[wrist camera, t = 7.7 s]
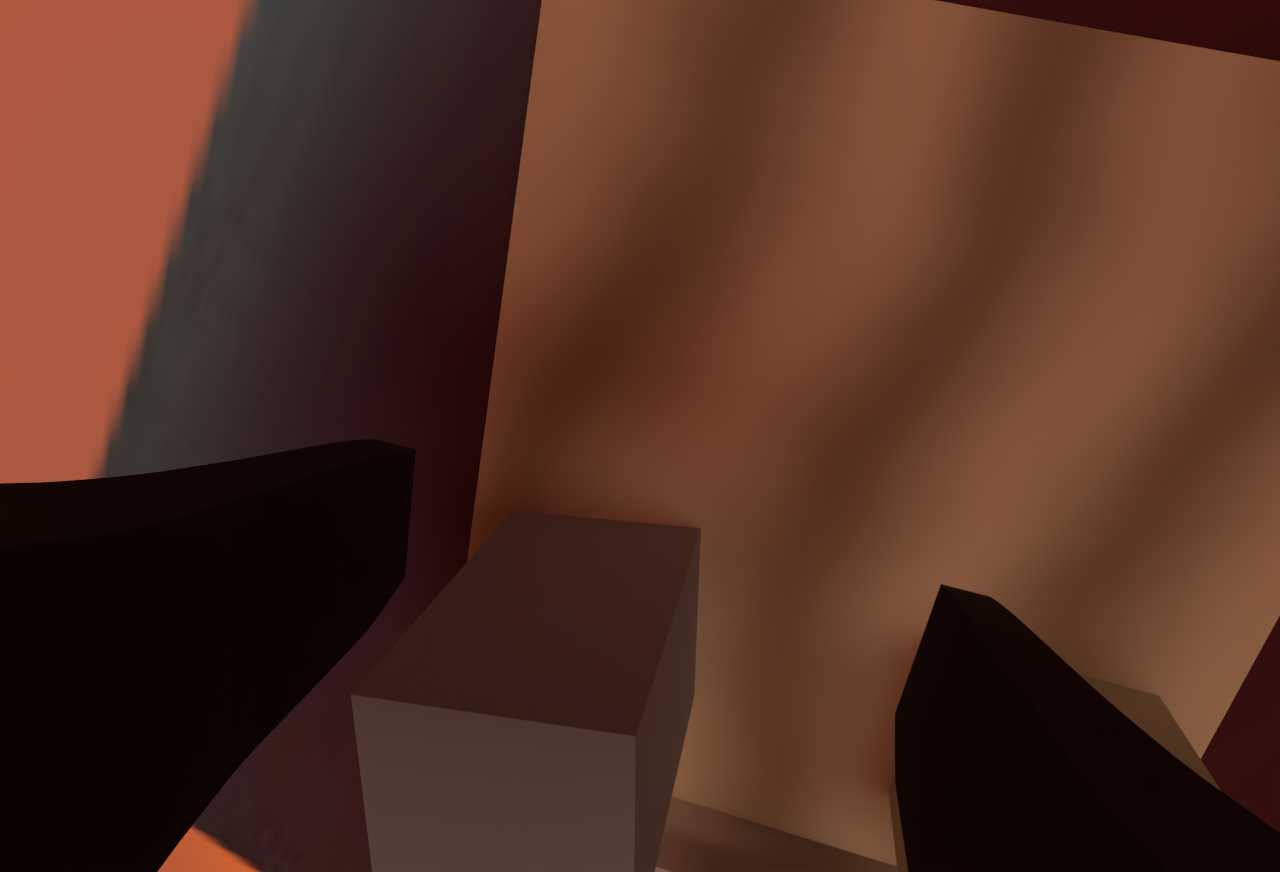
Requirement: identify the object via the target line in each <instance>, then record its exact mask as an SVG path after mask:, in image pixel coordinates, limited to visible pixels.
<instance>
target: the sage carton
mask: <svg viewBox="0 0 1280 872" xmlns="http://www.w3.org/2000/svg"><path fill="white" fill-rule="evenodd" d="M1079 675H1080V676H1081V677H1082V678H1084V679H1085V680H1086V681H1087V682H1088V683H1089V684H1090V685H1091V686H1092V687H1093V688H1095V689H1096V690H1097V691H1098V692H1099V693H1100V694H1101V695H1102V696H1104V697H1105V698H1106V699H1107V700H1108V701H1109V702H1110V703H1112V704H1113V705H1114V706H1115V707H1116V708H1117V709H1118V710H1120V711H1121V712H1122V713H1123V714H1124V715H1125V716H1127V717H1128V718H1129V719H1130V720H1131V721H1133V722H1134V723H1135V724H1136V725H1137V726H1139V727H1140V728H1141V729H1142V730H1143V731H1145V732H1146V733H1147V734H1148V735H1149V736H1151V737H1152V738H1153V739H1154V740H1156V741H1157V742H1158V743H1159V744H1160V745H1162V746H1163V747H1164V748H1165V749H1166V750H1168V751H1169V752H1170V753H1171V754H1173V755H1174V756H1175V757H1176V758H1178V759H1179V760H1180V761H1181V762H1183V763H1184V764H1185V765H1187V766H1188V767H1189V768H1191V769H1192V770H1193V771H1194V772H1196V773H1197V774H1198V775H1200V776H1201V777H1202V778H1204V779H1205V780H1206V781H1208V782H1209V783H1210V784H1212V785H1213V786H1215V787H1216V788H1217V789H1219V787H1218V785H1217V784H1216V782H1215V781H1214V779H1213V778H1212V776H1211V775H1210V773H1209V772H1208V770H1207V769H1206V767H1205V765H1204V764H1203V762H1202V761H1201V759H1200V758H1199V756H1198V755H1197V753H1196V752H1195V750H1194V748H1193V747H1192V745H1191V744H1190V742H1189V741H1188V739H1187V738H1186V736H1185V735H1184V733H1183V731H1182V730H1181V728H1180V727H1179V725H1178V724H1177V722H1176V721H1175V719H1174V718H1173V716H1172V715H1171V713H1170V711H1169V710H1168V708H1167V707H1166V705H1165V704H1164V702H1163V701H1162V699H1161V698H1160V696H1158V695H1155V694H1151V693H1147V692H1144V691H1140V690H1136V689H1133V688H1129V687H1125V686H1122V685H1118V684H1114V683H1111V682H1107V681H1103V680H1100V679H1096V678H1093V677H1089V676H1085V675H1082V674H1079ZM1219 790H1220V789H1219ZM1220 791H1221V790H1220ZM888 794H889V802H890V811H891V819H892V828H893V837H894V845H895V854H896V862H897V871H898V872H908V866H907V860H906V853H905V847H904V840H903V834H902V827H901V820H900V813H899V807H898V800H897V792H896V785H895V777H894V780H893V782H892V785H891V788H890V790H889V793H888Z"/></svg>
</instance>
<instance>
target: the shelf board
mask: <svg viewBox="0 0 1280 872" xmlns="http://www.w3.org/2000/svg"><path fill="white" fill-rule="evenodd" d="M512 510H514V511H524V512H534V513H545V514H555V515H566V516H576V517H586V518H597V519H607V520H617V521H628V522H638V523H649V524H659V525H669V526H680V527H690V528H700V529H701V538H700V564H699V590H698V616H697V641H696V667H695V693H694V700H693V705H692V709H691V713H690V718H689V722H688V727H687V731H686V735H685V740H684V744H683V749H682V753H681V758H680V762H679V766H678V771H677V775H676V780H675V784H674V788H673V793H672V797H671V802H670V806H669V810H668V815H667V819H666V824H665V828H664V833H663V837H662V841H661V846H660V850H659V855H658V859H657V863H656V868H655V872H898V871H897V862H896V854H895V845H894V837H893V828H892V819H891V811H890V802H889V794H888V793H889V790H890V788H891V785H892V782H893V780H894V777H895V712H896V709H897V707H898V704H899V701H900V698H901V695H902V692H903V690H904V687H905V684H906V681H907V678H908V676H909V673H910V670H911V667H912V664H913V661H914V659H915V656H916V653H917V650H918V647H919V645H920V642H921V639H922V636H923V633H924V630H925V628H926V625H927V622H928V619H929V616H930V614H931V611H932V608H933V605H934V602H935V599H936V597H937V594H938V591H939V588H940V585H941V584H943V585H947V586H951V587H954V588H958V589H962V590H966V591H970V592H974V593H978V594H982V595H986V596H990V597H992V598H993V599H995V600H996V601H997V602H999V603H1000V604H1001V605H1003V606H1004V607H1005V608H1006V609H1008V610H1009V611H1010V612H1011V613H1012V614H1014V615H1015V616H1016V617H1017V618H1018V619H1019V620H1020V621H1021V622H1023V623H1024V624H1025V625H1026V626H1027V627H1028V628H1029V629H1030V630H1031V631H1033V632H1034V633H1035V634H1036V635H1037V636H1038V637H1039V638H1040V639H1041V640H1042V641H1043V642H1044V643H1046V644H1047V645H1048V646H1049V647H1050V648H1051V649H1052V650H1053V651H1054V652H1055V653H1056V654H1057V655H1058V656H1060V657H1061V658H1062V659H1063V660H1064V661H1065V662H1066V663H1067V664H1068V665H1069V666H1070V667H1071V668H1073V669H1074V670H1075V671H1076V672H1077V673H1078V674H1082V675H1085V676H1089V677H1093V678H1096V679H1100V680H1103V681H1107V682H1111V683H1114V684H1118V685H1122V686H1125V687H1129V688H1133V689H1136V690H1140V691H1144V692H1147V693H1151V694H1155V695H1158V696H1160V698H1161V699H1162V701H1163V702H1164V704H1165V705H1166V707H1167V708H1168V710H1169V711H1170V713H1171V715H1172V716H1173V718H1174V719H1175V721H1176V722H1177V724H1178V725H1179V727H1180V728H1181V730H1182V731H1183V733H1184V735H1185V736H1186V738H1187V739H1188V741H1189V742H1190V744H1191V745H1192V747H1193V748H1194V750H1195V752H1196V753H1197V755H1198V756H1199V758H1200V759H1201V757H1202V755H1203V754H1204V752H1205V750H1206V748H1207V746H1208V745H1209V743H1210V741H1211V739H1212V737H1213V735H1214V734H1215V732H1216V730H1217V728H1218V726H1219V725H1220V723H1221V721H1222V719H1223V717H1224V715H1225V714H1226V712H1227V710H1228V708H1229V706H1230V705H1231V703H1232V701H1233V699H1234V697H1235V695H1236V694H1237V692H1238V690H1239V688H1240V686H1241V685H1242V683H1243V681H1244V679H1245V677H1246V676H1247V674H1248V672H1249V670H1250V668H1251V666H1252V665H1253V663H1254V661H1255V659H1256V657H1257V656H1258V654H1259V652H1260V650H1261V648H1262V646H1263V645H1264V643H1265V641H1266V639H1267V637H1268V636H1269V634H1270V632H1271V630H1272V628H1273V627H1274V625H1275V623H1276V621H1277V619H1278V617H1279V616H1280V61H1274V60H1269V59H1263V58H1257V57H1252V56H1246V55H1241V54H1235V53H1229V52H1224V51H1218V50H1212V49H1207V48H1201V47H1195V46H1190V45H1184V44H1178V43H1173V42H1167V41H1162V40H1156V39H1150V38H1145V37H1139V36H1133V35H1128V34H1122V33H1116V32H1111V31H1105V30H1099V29H1094V28H1088V27H1083V26H1077V25H1071V24H1066V23H1060V22H1054V21H1049V20H1043V19H1037V18H1032V17H1026V16H1021V15H1015V14H1009V13H1004V12H998V11H992V10H987V9H981V8H975V7H970V6H964V5H958V4H953V3H947V2H942V1H936V0H542V3H541V10H540V18H539V25H538V33H537V40H536V48H535V55H534V63H533V70H532V78H531V85H530V93H529V100H528V108H527V115H526V123H525V130H524V138H523V145H522V153H521V160H520V168H519V175H518V183H517V190H516V198H515V205H514V213H513V221H512V228H511V236H510V243H509V251H508V258H507V266H506V273H505V281H504V288H503V296H502V303H501V311H500V318H499V326H498V333H497V341H496V348H495V356H494V363H493V371H492V378H491V386H490V393H489V401H488V408H487V416H486V423H485V431H484V438H483V446H482V453H481V461H480V468H479V476H478V483H477V491H476V498H475V506H474V513H473V521H472V528H471V536H470V543H469V551H468V558H467V561H468V560H469V559H470V558H471V557H472V556H473V555H474V553H475V552H476V551H477V550H478V549H479V548H480V547H481V545H482V544H483V543H484V542H485V541H486V540H487V539H488V537H489V536H490V535H491V534H492V533H493V532H494V531H495V529H496V528H497V527H498V526H499V525H500V524H501V523H502V521H503V520H504V519H505V518H506V517H507V516H508V515H509V513H510V512H511V511H512Z"/></svg>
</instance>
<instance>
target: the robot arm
mask: <svg viewBox="0 0 1280 872" xmlns="http://www.w3.org/2000/svg"><path fill="white" fill-rule="evenodd" d="M414 462H415V449H411V448H407V447H403V446H399V445H395V444H391V443H387V442H383V441H379V440H353V441H345V442H337V443H330V444H324V445H318V446H312V447H307V448H301V449H295V450H290V451H284V452H279V453H273V454H268V455H262V456H257V457H251V458H246V459H240V460H234V461H228V462H221V463H215V464H208V465H202V466H195V467H189V468H182V469H176V470H169V471H163V472H155V473H147V474H139V475H130V476H120V477H111V478H98V479H86V480H74V481H61V482H43V483H6V484H5V483H3V484H0V872H157V871H158V870H159V869H160V867H161V866H162V865H163V863H164V862H165V861H166V859H167V858H168V856H169V855H170V854H171V852H172V851H173V850H174V848H175V847H176V846H177V844H178V843H179V842H180V840H181V839H182V838H183V837H184V835H185V834H186V833H187V831H188V830H189V829H190V828H191V826H192V825H193V824H194V822H195V821H196V820H197V819H198V817H199V816H200V815H201V813H202V812H203V811H204V810H205V808H206V807H207V806H208V804H209V803H210V802H211V801H212V799H213V798H214V797H215V795H216V794H217V793H218V792H219V790H220V789H221V788H222V786H223V785H224V784H225V783H226V781H227V780H228V779H229V778H230V776H231V775H232V774H233V773H234V772H235V771H236V769H237V768H238V767H239V766H240V765H241V764H242V763H243V761H244V760H245V759H246V758H247V757H248V756H249V755H250V754H251V752H252V751H253V750H254V749H255V748H256V747H257V746H258V745H259V744H260V743H261V742H262V740H263V739H264V738H265V737H266V736H267V735H268V734H269V733H270V732H271V731H272V730H273V729H274V728H275V727H276V726H277V725H278V724H279V723H280V722H281V721H282V720H283V719H284V718H285V717H286V716H287V715H288V713H289V712H290V711H291V710H292V709H293V708H294V707H295V706H296V705H297V704H298V703H299V702H300V701H301V700H302V699H303V698H304V697H305V696H306V695H307V694H308V693H309V692H310V691H311V690H312V689H313V688H314V686H315V685H316V684H317V683H318V682H319V681H320V680H321V679H322V678H323V677H324V676H325V675H326V674H327V673H328V672H329V671H330V670H331V669H332V668H333V667H334V666H335V665H336V664H337V662H338V661H339V660H340V659H341V658H342V657H343V656H344V655H345V654H346V653H347V652H348V651H349V650H350V649H351V648H352V647H353V645H354V644H355V643H356V642H357V641H358V640H359V639H360V638H361V637H362V636H363V635H364V633H365V632H366V631H367V630H368V629H369V627H370V626H371V625H372V623H373V622H374V621H375V619H376V618H377V617H378V615H379V614H380V612H381V611H382V610H383V608H384V607H385V606H386V604H387V603H388V601H389V600H390V598H391V597H392V595H393V594H394V592H395V591H396V589H397V588H398V586H399V585H400V583H401V582H402V580H403V579H404V577H405V568H406V556H407V545H408V533H409V521H410V509H411V497H412V486H413V474H414ZM895 785H896V792H897V800H898V807H899V813H900V820H901V827H902V834H903V840H904V847H905V853H906V860H907V866H908V872H1280V833H1279V832H1278V831H1276V830H1275V829H1273V828H1272V827H1270V826H1269V825H1268V824H1266V823H1265V822H1263V821H1262V820H1260V819H1259V818H1258V817H1256V816H1255V815H1254V814H1252V813H1251V812H1249V811H1248V810H1247V809H1245V808H1244V807H1242V806H1241V805H1240V804H1238V803H1237V802H1235V801H1234V800H1233V799H1231V798H1230V797H1229V796H1227V795H1226V794H1224V793H1223V792H1222V791H1220V790H1219V789H1217V788H1216V787H1215V786H1213V785H1212V784H1210V783H1209V782H1208V781H1206V780H1205V779H1204V778H1202V777H1201V776H1200V775H1198V774H1197V773H1196V772H1194V771H1193V770H1192V769H1191V768H1189V767H1188V766H1187V765H1185V764H1184V763H1183V762H1181V761H1180V760H1179V759H1178V758H1176V757H1175V756H1174V755H1173V754H1171V753H1170V752H1169V751H1168V750H1166V749H1165V748H1164V747H1163V746H1162V745H1160V744H1159V743H1158V742H1157V741H1156V740H1154V739H1153V738H1152V737H1151V736H1149V735H1148V734H1147V733H1146V732H1145V731H1143V730H1142V729H1141V728H1140V727H1139V726H1137V725H1136V724H1135V723H1134V722H1133V721H1131V720H1130V719H1129V718H1128V717H1127V716H1125V715H1124V714H1123V713H1122V712H1121V711H1120V710H1118V709H1117V708H1116V707H1115V706H1114V705H1113V704H1112V703H1110V702H1109V701H1108V700H1107V699H1106V698H1105V697H1104V696H1102V695H1101V694H1100V693H1099V692H1098V691H1097V690H1096V689H1095V688H1093V687H1092V686H1091V685H1090V684H1089V683H1088V682H1087V681H1086V680H1085V679H1084V678H1082V677H1081V676H1080V675H1079V674H1078V673H1077V672H1076V671H1075V670H1074V669H1073V668H1071V667H1070V666H1069V665H1068V664H1067V663H1066V662H1065V661H1064V660H1063V659H1062V658H1061V657H1060V656H1058V655H1057V654H1056V653H1055V652H1054V651H1053V650H1052V649H1051V648H1050V647H1049V646H1048V645H1047V644H1046V643H1044V642H1043V641H1042V640H1041V639H1040V638H1039V637H1038V636H1037V635H1036V634H1035V633H1034V632H1033V631H1031V630H1030V629H1029V628H1028V627H1027V626H1026V625H1025V624H1024V623H1023V622H1021V621H1020V620H1019V619H1018V618H1017V617H1016V616H1015V615H1014V614H1012V613H1011V612H1010V611H1009V610H1008V609H1006V608H1005V607H1004V606H1003V605H1001V604H1000V603H999V602H997V601H996V600H995V599H993V598H992V597H990V596H986V595H982V594H978V593H974V592H970V591H966V590H962V589H958V588H954V587H951V586H947V585H943V584H941V585H940V588H939V591H938V594H937V597H936V599H935V602H934V605H933V608H932V611H931V614H930V616H929V619H928V622H927V625H926V628H925V630H924V633H923V636H922V639H921V642H920V645H919V647H918V650H917V653H916V656H915V659H914V661H913V664H912V667H911V670H910V673H909V676H908V678H907V681H906V684H905V687H904V690H903V692H902V695H901V698H900V701H899V704H898V707H897V709H896V712H895Z"/></svg>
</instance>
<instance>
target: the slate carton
mask: <svg viewBox="0 0 1280 872" xmlns="http://www.w3.org/2000/svg"><path fill="white" fill-rule="evenodd" d="M700 538H701V529H700V528H690V527H680V526H669V525H659V524H649V523H638V522H628V521H617V520H607V519H597V518H586V517H576V516H566V515H555V514H545V513H534V512H524V511H514V510H512V511H511V512H510V513H509V515H508V516H507V517H506V518H505V519H504V520H503V521H502V523H501V524H500V525H499V526H498V527H497V528H496V529H495V531H494V532H493V533H492V534H491V535H490V536H489V537H488V539H487V540H486V541H485V542H484V543H483V544H482V545H481V547H480V548H479V549H478V550H477V551H476V552H475V553H474V555H473V556H472V557H471V558H470V559H469V560H468V561H467V563H466V564H465V565H464V566H463V567H462V568H461V569H460V571H459V572H458V573H457V574H456V575H455V576H454V577H453V579H452V580H451V581H450V582H449V583H448V584H447V586H446V587H445V588H444V589H443V590H442V591H441V592H440V594H439V595H438V596H437V597H436V598H435V599H434V600H433V602H432V603H431V604H430V605H429V606H428V607H427V608H426V610H425V611H424V612H423V613H422V614H421V615H420V616H419V618H418V619H417V620H416V621H415V622H414V623H413V624H412V626H411V627H410V628H409V629H408V630H407V631H406V632H405V634H404V635H403V636H402V637H401V638H400V639H399V640H398V642H397V643H396V644H395V645H394V646H393V647H392V648H391V650H390V651H389V652H388V653H387V654H386V655H385V656H384V658H383V659H382V660H381V661H380V662H379V663H378V664H377V666H376V667H375V668H374V669H373V670H372V671H371V672H370V674H369V675H368V676H367V677H366V678H365V679H364V680H363V682H362V683H361V684H360V685H359V686H358V687H357V688H356V690H355V691H354V692H353V693H352V694H351V699H352V708H353V716H354V724H355V732H356V741H357V749H358V757H359V765H360V774H361V782H362V790H363V799H364V807H365V815H366V823H367V832H368V840H369V848H370V856H371V865H372V872H655V868H656V863H657V859H658V855H659V850H660V846H661V841H662V837H663V833H664V828H665V824H666V819H667V815H668V810H669V806H670V802H671V797H672V793H673V788H674V784H675V780H676V775H677V771H678V766H679V762H680V758H681V753H682V749H683V744H684V740H685V735H686V731H687V727H688V722H689V718H690V713H691V709H692V705H693V700H694V693H695V667H696V641H697V616H698V590H699V564H700Z"/></svg>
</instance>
